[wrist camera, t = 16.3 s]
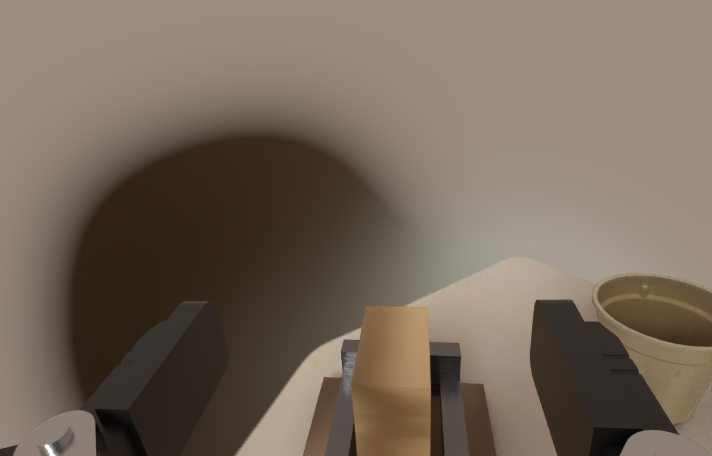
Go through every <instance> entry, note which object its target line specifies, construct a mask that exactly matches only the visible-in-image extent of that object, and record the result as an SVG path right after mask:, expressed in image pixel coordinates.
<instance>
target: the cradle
mask: <svg viewBox="0 0 712 456" xmlns="http://www.w3.org/2000/svg"><path fill="white" fill-rule="evenodd" d="M359 341H360V340H344V341H343V345H342V350H341V358H342V369H343V374H342V378H329V377H324V379H323V383H322V387H321V390H320V394H319V398H318V401H317V405H316V409H315V413H314V416H313V420H312V424H311V428H310V431H309V435H308V439H307V442H306V446H305V450H304V454H303V456H357V445H356V434H355V422H354V411H353V400H352V388H351V383H352V377H353V372H354V367H355V362H356V356H357V351H358V346H359ZM429 349H430V380H431V424H430V456H496V452H495V447H494V441H493V436H492V431H491V425H490V420H489V414H488V409H487V403H486V398H485V392H484V387H483V384H468V383H461V382H460V363H461V354H460V347H459V343H438V342H429Z"/></svg>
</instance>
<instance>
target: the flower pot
mask: <svg viewBox="0 0 712 456" xmlns="http://www.w3.org/2000/svg"><path fill="white" fill-rule="evenodd" d="M592 301H593V304H594V306H595V308H596V309H597V317H598V320H599V322H600V323H601V324H602V325H603V326H605V327H606V328H607V329H608V330H610V331H611V332H612V333H614V334H615V335H616V336H617V337H618V338H619V339H620V341H621V342H622V344H623V346H624V347H625V349H626V350H627V352H628V354H629V358H630V359H632V360H633V362H634V363H635V365H636V367H637V368H638V370H639V374H641V375H642V376H643V378H644V379H645V381H646V383H647V384H648V386H649V387H650V389H651V391H652V392H653V394H654V395H655V397H656V399H657V400H658V402H659V403H660V405H661V407H662V408H663V410H664V411H665V413H666V415H667V416H668V418H669V419H670V421H671V423H672V424H673V425H674V424H677V423H681V422H686V421H687V420H688V419H689V418H690V417H691V416H692V413H693V412H694V410H695V408H696V406H697V404H698V403H699V401H700V399H701V397H702V396H703V394H704V392H705V391H706V389H707V387H708V386H709V384H710V382H711V381H712V290H710V289H708V288H706V287H704V286H701V285H698V284H695V283H692V282H689V281H686V280H682V279H678V278H673V277H670V276H662V275H656V274H644V273H630V274H621V275H614V276H611V277H608V278H605V279H603V280H601V281H600V282H598V283H597V284H596V285H595V287H594V288H593V293H592Z"/></svg>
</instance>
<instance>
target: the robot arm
mask: <svg viewBox="0 0 712 456" xmlns="http://www.w3.org/2000/svg"><path fill="white" fill-rule="evenodd" d="M228 354H229V353H228V346H227V342H226V339H225V335H224V332H223V328H222V325H221V321H220V317H219V314H218V311H217V307H216V305H215V304H214V303H213V302H182V303H181V304H180V305H179V306H178V307H177V308H176V309H175V311H174V312H173V313H172V314H171V316H170V317H169V318H168V319H167V320H166V321H162V322H161V323H159V324H158V325H156V326H155V327H153V328H152V329H151V330H149V331H148V332H146V333H145V334H144V335H143V336H142V337H141V338H140V340H139V341H138V342H137V343H136V344H135V345H134V347H133V348H132V351H131V352H128V354H127V355H126V356H125V357H124V358H123V359H122V361H121V364H118V365H117V367H116V368H115V369H114V370H113V371H112V372H111V374H110V375H109V376H108V377H107V378H106V379H105V381H104V382H103V383H102V384H101V385H100V387H99V388H98V389H97V390H96V391H95V392H94V393H93V395H92V396H91V397H90V398H89V399H88V400H87V402H86V403H85V404H84V405H83V407H81V409H80V410H76V411H69V412H65V413H62V414H59V415H56V416H54V417H52V418H50V419H48V420H46V421H45V422H43V423H42V424H40V425H38V426H37V427H36V428H34V429H33V430H32V431H31V432H29V434H27V435H26V436H25V437H24V439H23V440H22V441H21V442H20V443H19V445H16V446H11V447H7V448H3V449H0V456H180V455H181V453H182V451H183V449H184V448H185V446H186V444H187V442H188V440H189V438H190V436H191V435H192V433H193V431H194V429H195V427H196V425H197V423H198V422H199V420H200V418H201V416H202V414H203V412H204V410H205V409H206V407H207V405H208V403H209V401H210V399H211V397H212V396H213V393H214V392H215V390H216V388H217V386H218V384H219V383H220V381H221V379H222V377H223V375H224V373H225V371H226V368H227V364H228ZM530 364H531V371H532V376H533V380H534V383H535V386H536V389H537V393H538V396H539V399H540V402H541V405H542V408H543V411H544V415H545V418H546V421H547V424H548V427H549V430H550V433H551V436H552V440H553V443H554V446H555V449H556V452H557V455H558V456H712V454H711V453H709V452H708V451H707V450H705V449H704V448H703V447H701V446H700V445H698V444H696V443H695V442H693V441H691V440H689V439H687V438H685V437H682V436H680V435H679V434H678V432H677V431H676V429H675V427H674V426H673V424H672V423H671V421H670V419H669V418H668V416H667V415H666V413H665V411H664V410H663V408H662V407H661V405H660V403H659V402H658V400H657V399H656V397H655V395H654V394H653V392H652V391H651V389H650V387H649V386H648V384H647V383H646V381H645V379H644V378H643V376H642V375H641V374H639V370H638V368H637V367H636V365H635V363H634V362H633V360H632V359H630V358H629V354H628V352H627V350H626V349H625V347H624V346H623V344H622V342H621V341H620V339H619V338H618V337H617V336H616V335H615V334H614V333H612V332H611V331H610V330H608V329H607V328H606V327H605V326H603V325H602V324H601V323H600V322H584V320H583V319H582V317H581V315H580V313H579V311H578V309H577V308H576V306H575V304H574V302H573V301H572V300H536V302H535V306H534V314H533V325H532V336H531V347H530Z"/></svg>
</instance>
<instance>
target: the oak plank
mask: <svg viewBox="0 0 712 456" xmlns="http://www.w3.org/2000/svg"><path fill="white" fill-rule="evenodd" d="M351 388H352V400H353V411H354V422H355V434H356V445H357V456H430V424H431V380H430V349H429V318H428V307H391V306H366V309H365V314H364V320H363V325H362V330H361V335H360V341H359V346H358V351H357V356H356V362H355V367H354V372H353V377H352V383H351Z"/></svg>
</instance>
